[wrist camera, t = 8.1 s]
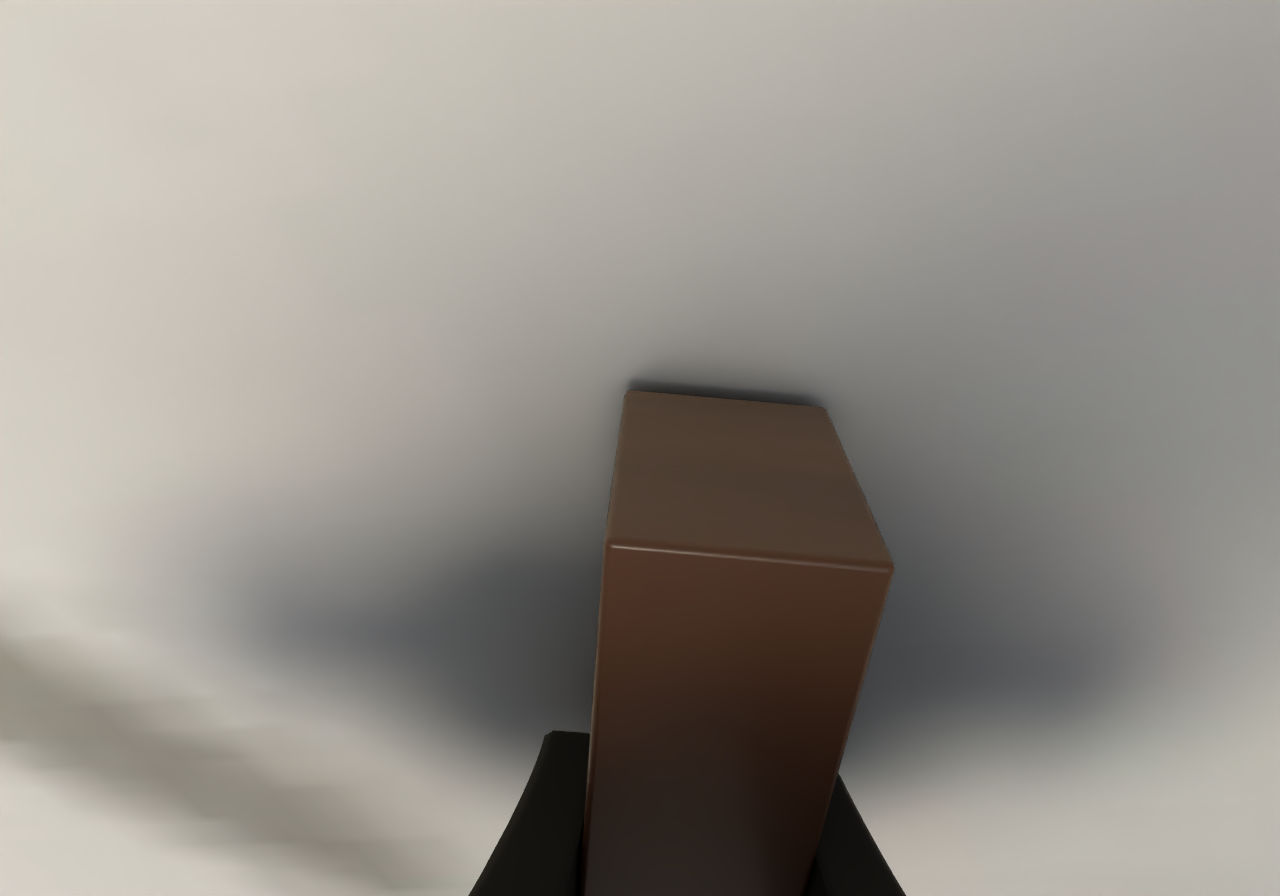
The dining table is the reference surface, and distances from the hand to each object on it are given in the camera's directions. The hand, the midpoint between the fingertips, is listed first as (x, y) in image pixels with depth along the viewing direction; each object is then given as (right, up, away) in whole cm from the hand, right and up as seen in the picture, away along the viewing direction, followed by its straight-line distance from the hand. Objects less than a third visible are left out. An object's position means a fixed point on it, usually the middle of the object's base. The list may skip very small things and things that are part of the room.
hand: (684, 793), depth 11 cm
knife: (0, -2, +3) cm, 4 cm away
